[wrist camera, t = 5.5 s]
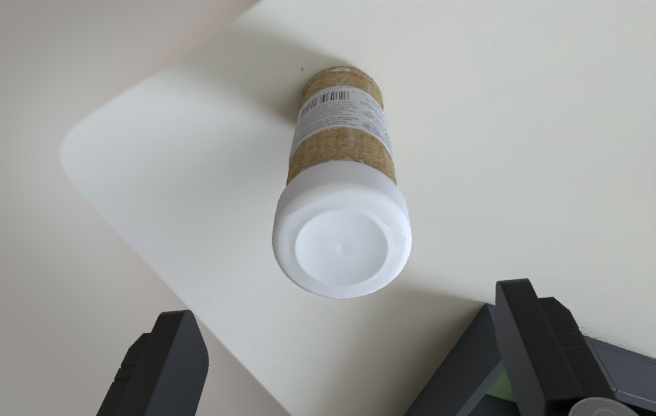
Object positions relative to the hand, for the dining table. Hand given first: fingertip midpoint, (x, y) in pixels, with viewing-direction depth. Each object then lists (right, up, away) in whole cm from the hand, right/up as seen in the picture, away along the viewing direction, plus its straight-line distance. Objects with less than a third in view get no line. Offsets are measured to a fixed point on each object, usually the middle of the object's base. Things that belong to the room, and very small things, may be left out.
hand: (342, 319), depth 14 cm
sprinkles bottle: (0, +9, +14) cm, 17 cm away
